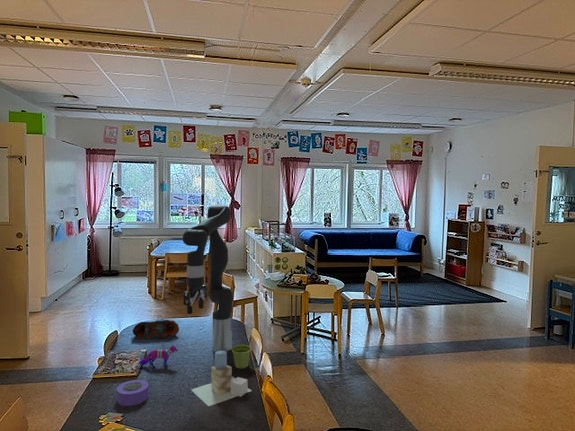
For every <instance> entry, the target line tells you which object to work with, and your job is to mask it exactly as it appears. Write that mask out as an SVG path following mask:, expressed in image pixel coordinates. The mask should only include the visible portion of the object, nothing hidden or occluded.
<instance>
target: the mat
mask: <svg viewBox="0 0 575 431" xmlns="http://www.w3.org/2000/svg"><path fill="white" fill-rule="evenodd" d="M234 379H236V378H235V377H234V375H233V376H232V379H231V381H233V380H234ZM190 391H191V392H193V393H194V394H195V395H196V396H197V397H198V398H199V399H200V400H201V401H202V402H203V403H205V405H206V406H208V407H211V406H214V405H217V404H220V403H222V402H226V401H229V400H230V399H233V398H236V397H238V396H237V395H233V394H231V391H230V392H227V393H224V394H221V395H217V394H216V393H215V392H214V391H213V390H212V382H210V383H207V384H205V385H200V386H198V387H195V388H191V389H190ZM250 392H252V389H250V388H248V391H247V392H246V393H245V394H247V393H250Z"/></svg>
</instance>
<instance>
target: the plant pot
mask: <svg viewBox="0 0 575 431" xmlns="http://www.w3.org/2000/svg"><path fill="white" fill-rule="evenodd" d="M230 351H231V352H232V355H233V360H234V367H235V368H237V369H246V368H247V367H249V361H250V354H251V351H252V347H251V346H250V345H246V344H238V345H234V346H232V349H230Z"/></svg>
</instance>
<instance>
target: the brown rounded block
mask: <svg viewBox="0 0 575 431" xmlns="http://www.w3.org/2000/svg"><path fill="white" fill-rule="evenodd" d="M179 331H180V326H179V324H178V323H177V322H176V321H175V320H170V319H169V320H168V319H165V320H156V321H140V322H138V323H136V325H134V327H133V328H132V334H133V335H134V336H135V338H137V340H141V339H144V340H151V339H152V340H156V339H157V340H158V339H166V336H171V337H172V338H173V337H175V336H176V335H177V334H178V333H179ZM154 337H157V338H154Z"/></svg>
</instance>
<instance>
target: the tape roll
mask: <svg viewBox="0 0 575 431" xmlns="http://www.w3.org/2000/svg"><path fill="white" fill-rule="evenodd" d="M148 398H149V384H148V382H147V381H146V380H143V379H134V380H133V379H132V380H128V381H125V382H122V383H120V384H119V385H118V386H117V388H116V402H117V404H119V405H120V406H125V407H131V406H136V405H140V404H143V403H144V402H145V401H147V399H148Z"/></svg>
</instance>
